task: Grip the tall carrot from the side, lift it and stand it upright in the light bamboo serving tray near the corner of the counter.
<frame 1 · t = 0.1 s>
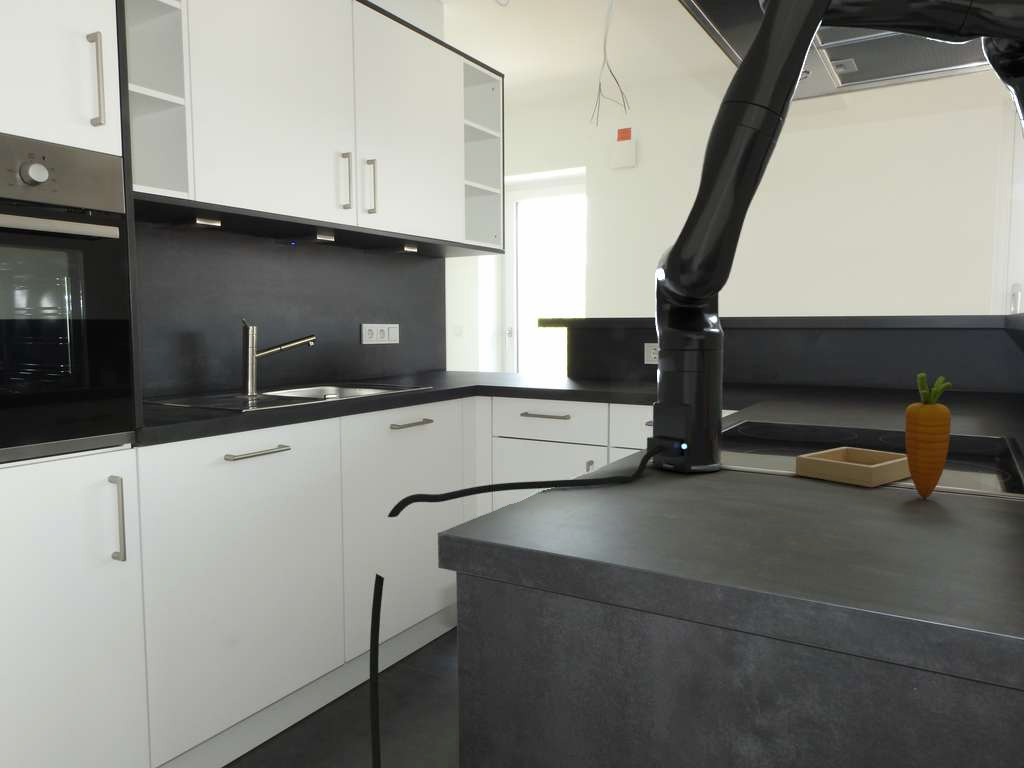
carrot: (924, 500, 86), on the countertop
tray: (857, 474, 100), on the countertop
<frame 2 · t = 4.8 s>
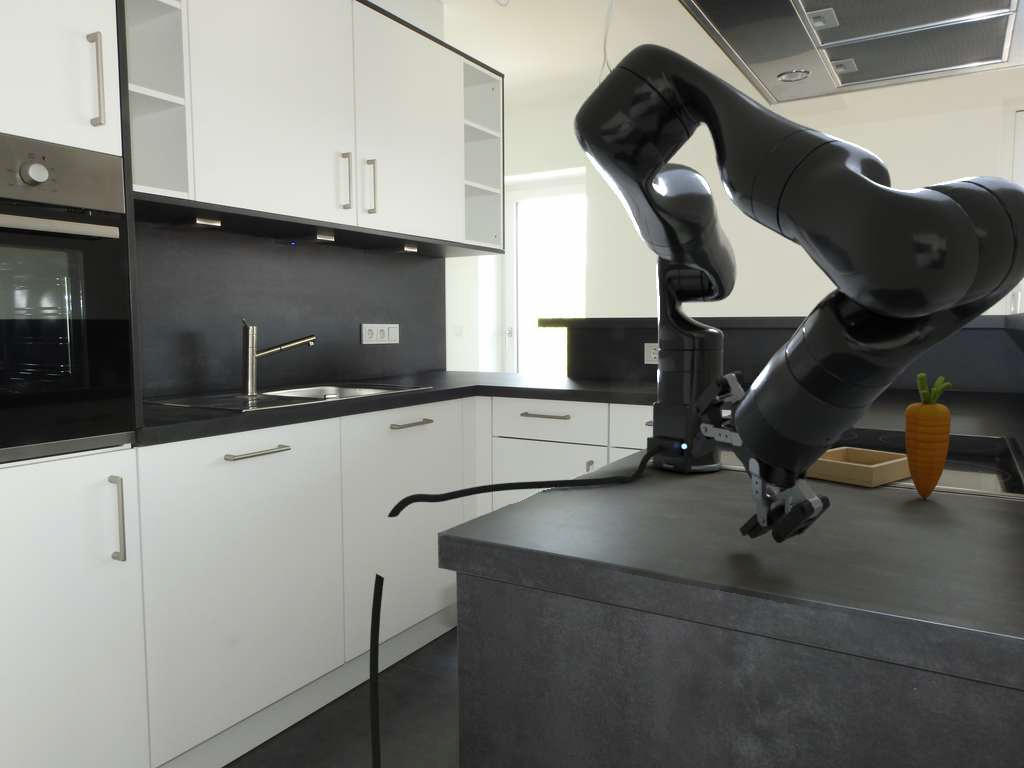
hand: (724, 490, 68), 5 cm above the countertop, tool tilted 55°, fingers open, 8 cm apart
nothing on the countertop moved.
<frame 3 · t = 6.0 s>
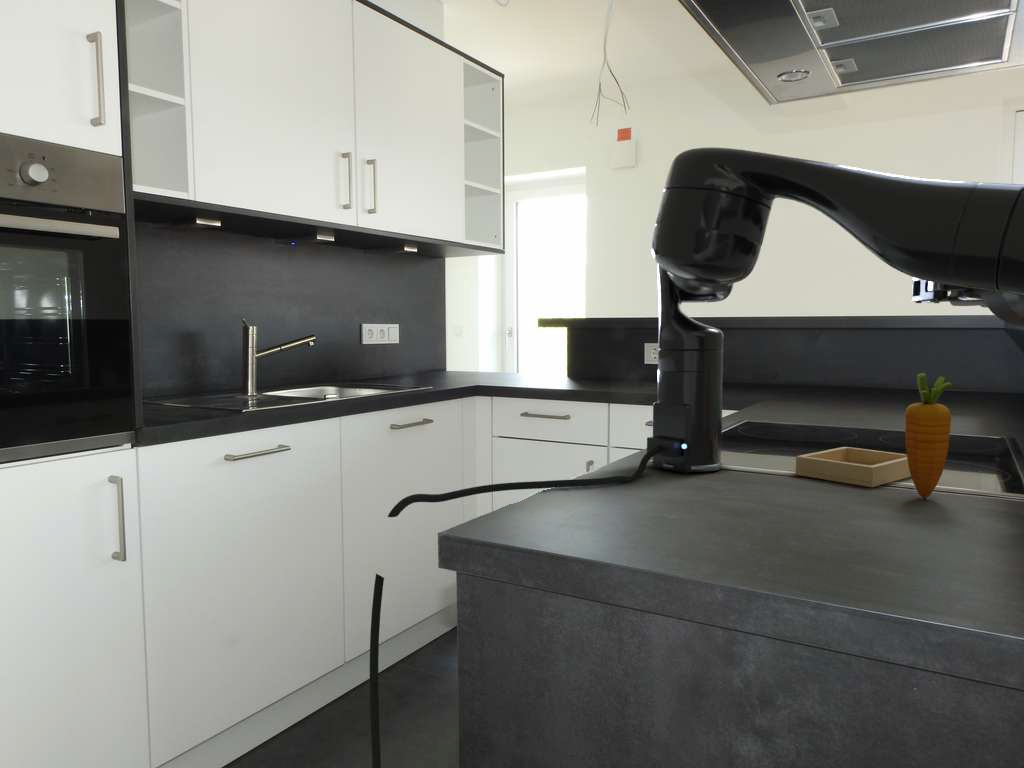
hand: (972, 291, 73), 24 cm above the countertop, tool horizontal, fingers open, 8 cm apart
nothing on the countertop moved.
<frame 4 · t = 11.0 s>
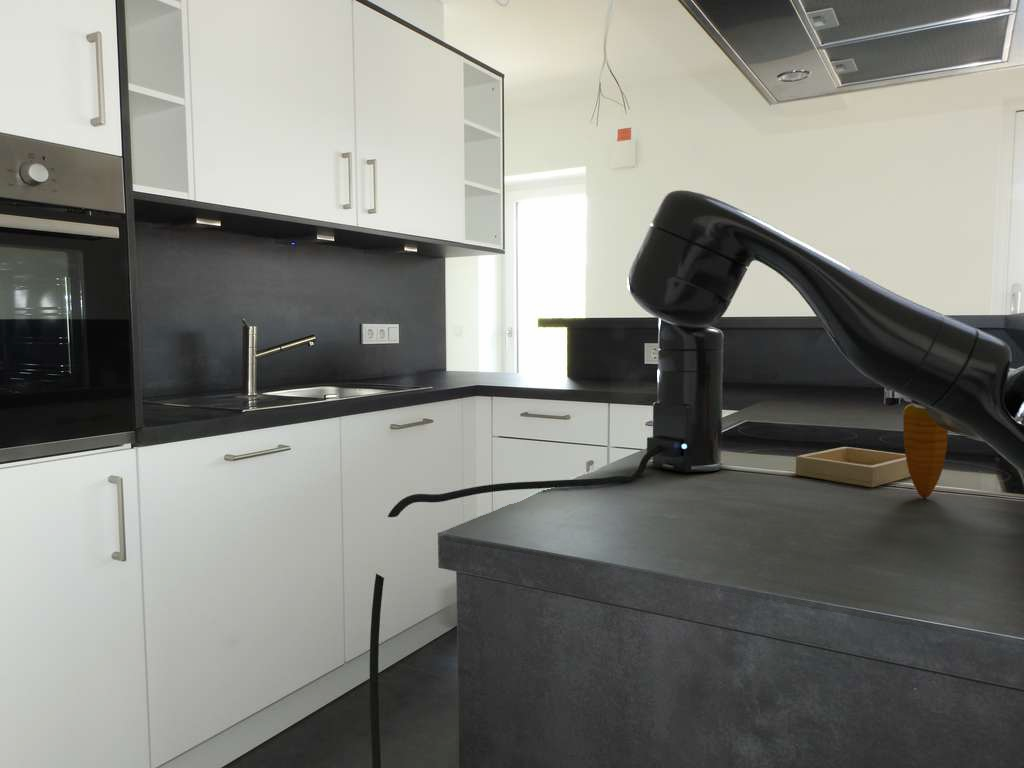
hand: (920, 387, 87), 13 cm above the countertop, tool horizontal, fingers closed on carrot, 3 cm apart
carrot: (924, 500, 86), on the countertop, touching gripper
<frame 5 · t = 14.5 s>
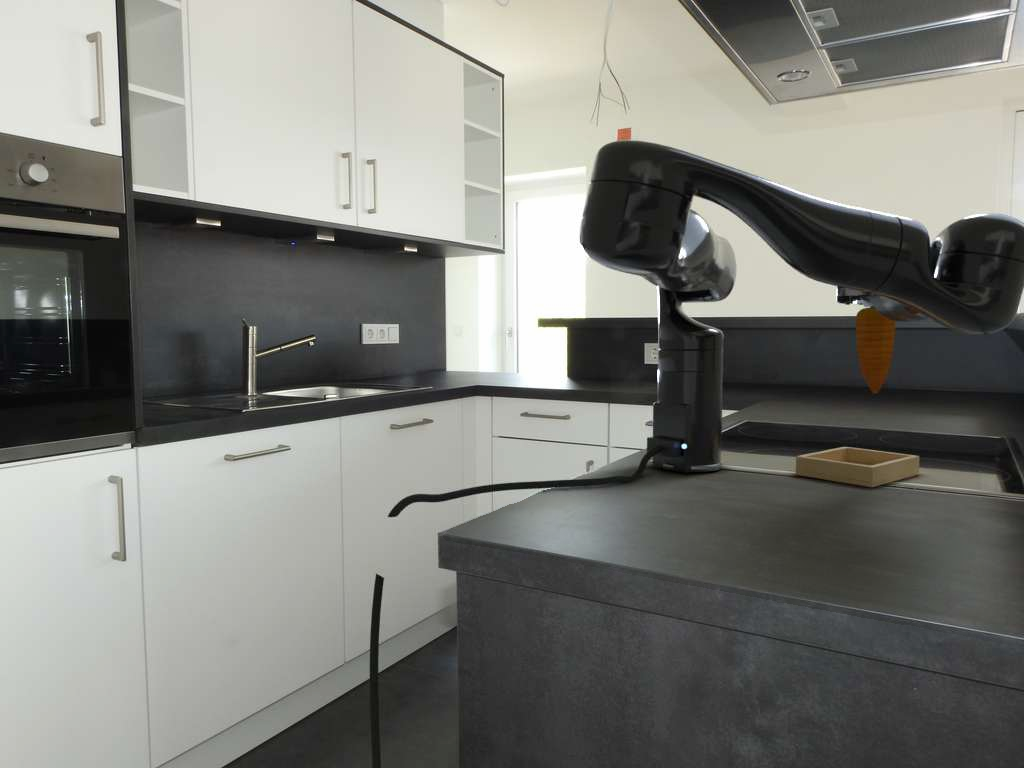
hand: (872, 296, 97), 25 cm above the countertop, tool horizontal, fingers closed on carrot, 3 cm apart
carrot: (875, 394, 95), point 11 cm above the countertop, touching gripper
when the fingers open (14 cm above the countertop, at t = 18.2 s): carrot stays where it is, resting on tray.
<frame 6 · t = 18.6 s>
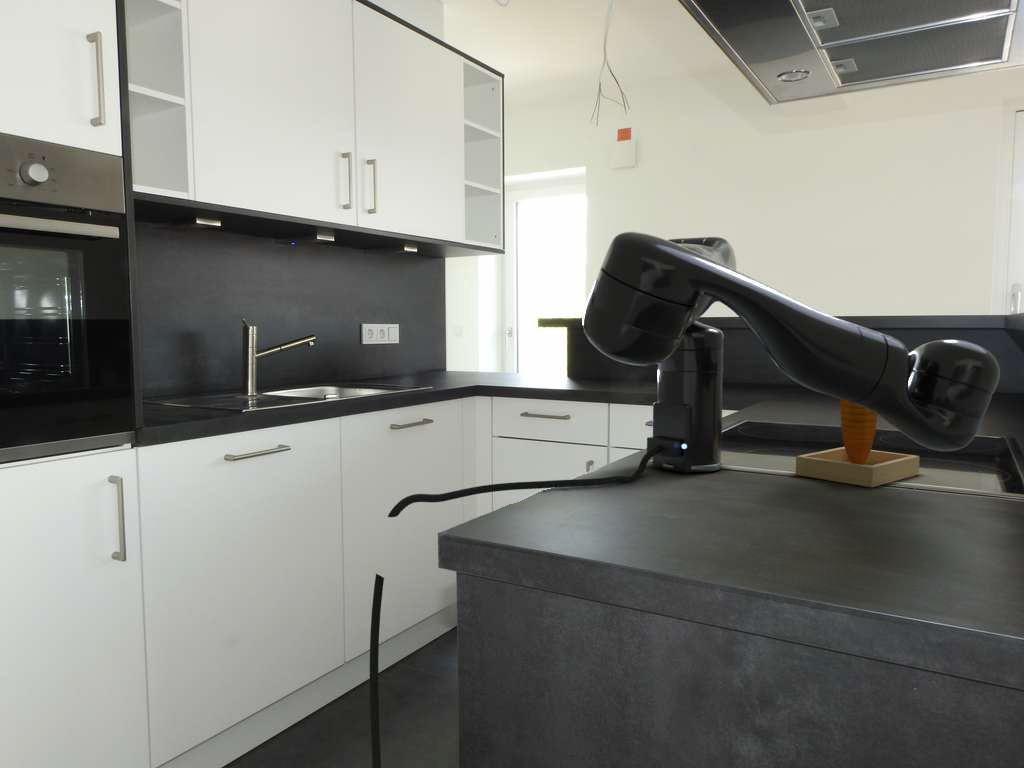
hand: (856, 374, 101), 14 cm above the countertop, tool horizontal, fingers open, 6 cm apart
carrot: (857, 471, 100), resting on tray
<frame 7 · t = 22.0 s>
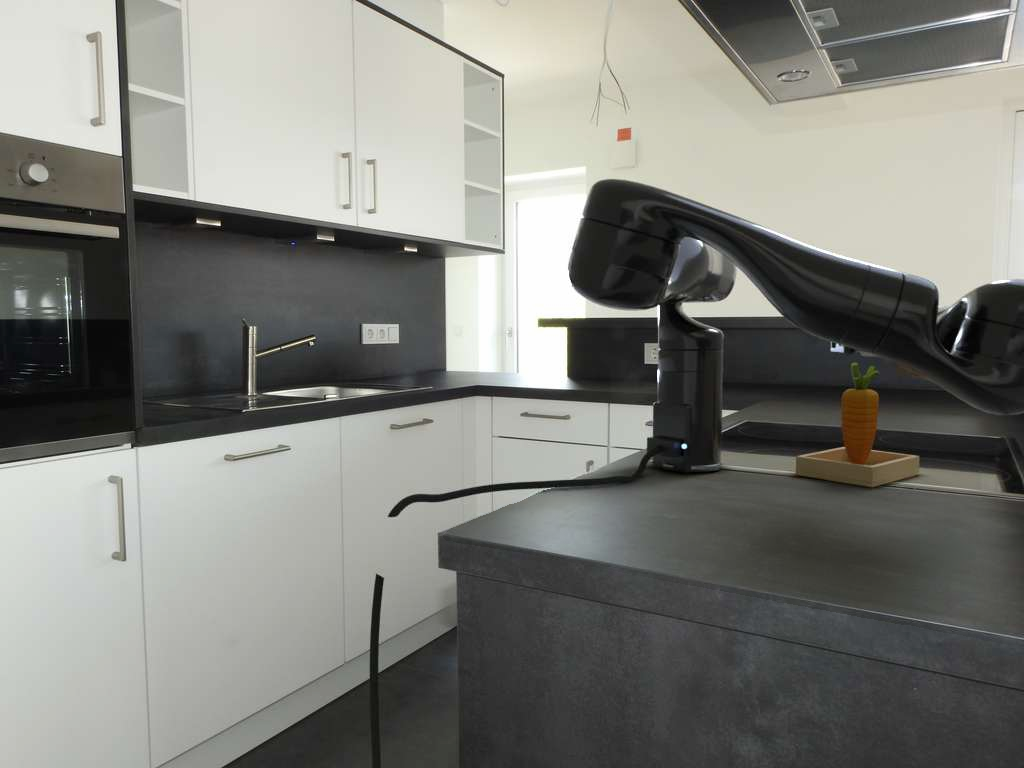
hand: (883, 340, 89), 19 cm above the countertop, tool horizontal, fingers open, 8 cm apart
nothing on the countertop moved.
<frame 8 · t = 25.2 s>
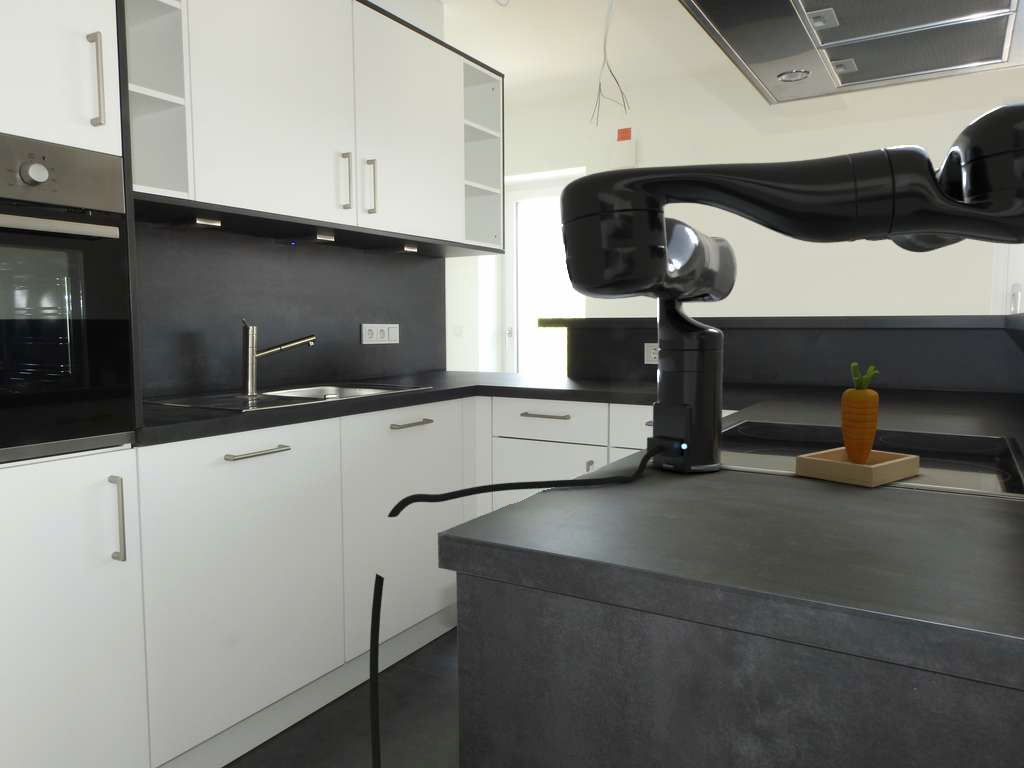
hand: (887, 232, 88), 32 cm above the countertop, tool horizontal, fingers open, 8 cm apart
nothing on the countertop moved.
at the end: carrot inside the target area in the tray (0.1 cm from its centre), point 0.4 cm above the tray's base; carrot tilted 0°; the gripper is holding nothing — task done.
